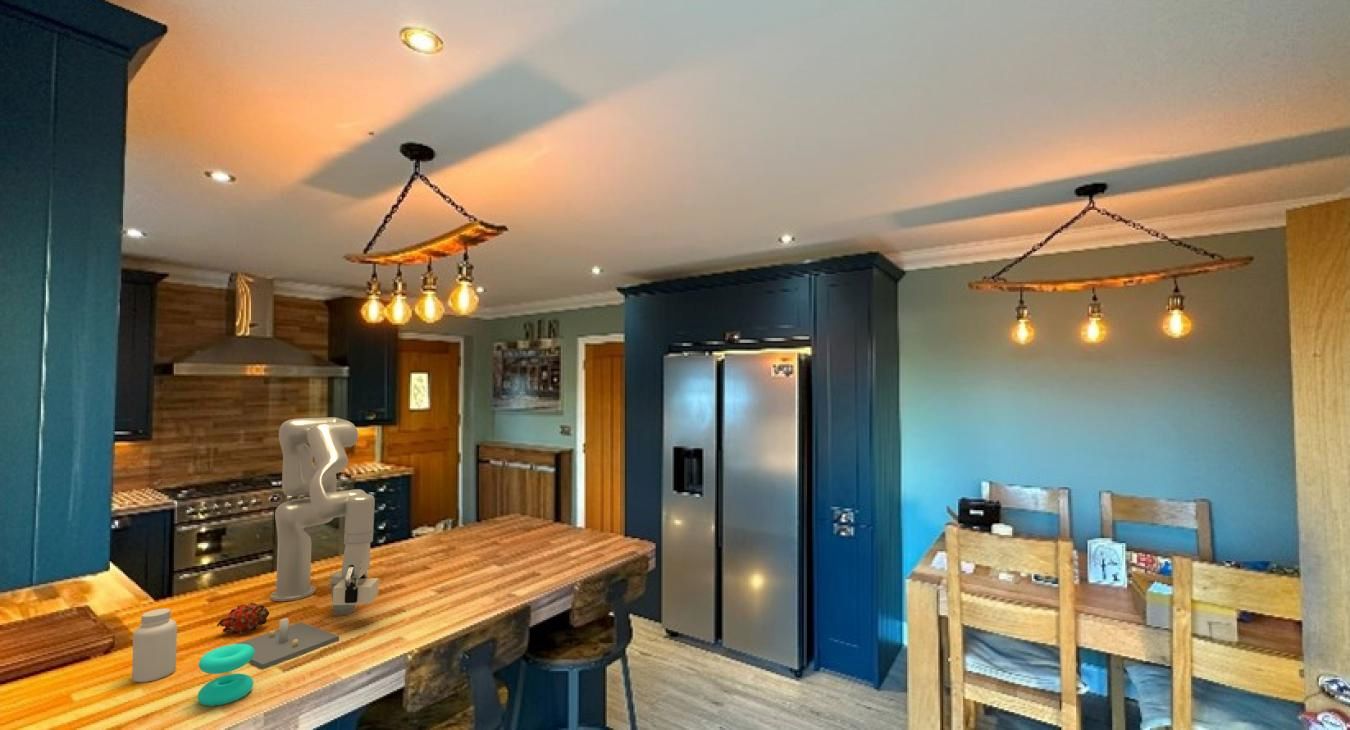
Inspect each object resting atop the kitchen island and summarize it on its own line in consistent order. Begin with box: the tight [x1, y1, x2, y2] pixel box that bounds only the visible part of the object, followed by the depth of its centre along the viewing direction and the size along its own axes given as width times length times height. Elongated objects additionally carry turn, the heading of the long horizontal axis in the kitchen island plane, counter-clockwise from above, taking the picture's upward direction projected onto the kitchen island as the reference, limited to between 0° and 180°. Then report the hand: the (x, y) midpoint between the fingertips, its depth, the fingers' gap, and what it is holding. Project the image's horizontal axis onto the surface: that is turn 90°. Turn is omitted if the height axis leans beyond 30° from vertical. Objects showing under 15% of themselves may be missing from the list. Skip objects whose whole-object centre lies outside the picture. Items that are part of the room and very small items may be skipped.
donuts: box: [197, 643, 254, 707], centre depth 131 cm, size 10×10×10 cm
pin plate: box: [235, 617, 340, 670], centre depth 156 cm, size 19×19×7 cm
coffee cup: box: [328, 569, 357, 617], centre depth 180 cm, size 8×9×12 cm
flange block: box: [332, 577, 379, 606], centre depth 171 cm, size 10×7×5 cm
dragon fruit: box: [216, 602, 270, 636], centre depth 165 cm, size 8×8×12 cm
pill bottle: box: [131, 608, 178, 683], centre depth 140 cm, size 8×8×15 cm
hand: (355, 596), depth 171 cm, fingers closed on flange block, 7 cm apart
